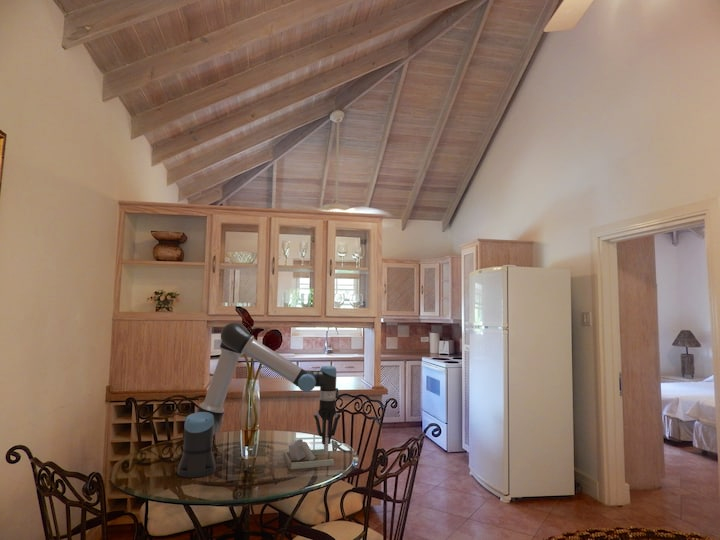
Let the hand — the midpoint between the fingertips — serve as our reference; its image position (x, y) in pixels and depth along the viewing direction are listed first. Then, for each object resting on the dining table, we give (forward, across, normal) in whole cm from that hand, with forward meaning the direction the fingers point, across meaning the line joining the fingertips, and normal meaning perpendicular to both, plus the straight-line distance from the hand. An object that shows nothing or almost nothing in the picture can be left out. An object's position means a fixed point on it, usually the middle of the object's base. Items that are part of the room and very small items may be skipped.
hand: (325, 451), depth 205 cm
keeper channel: (+4, -9, -1) cm, 9 cm away
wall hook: (+4, -10, +1) cm, 11 cm away
